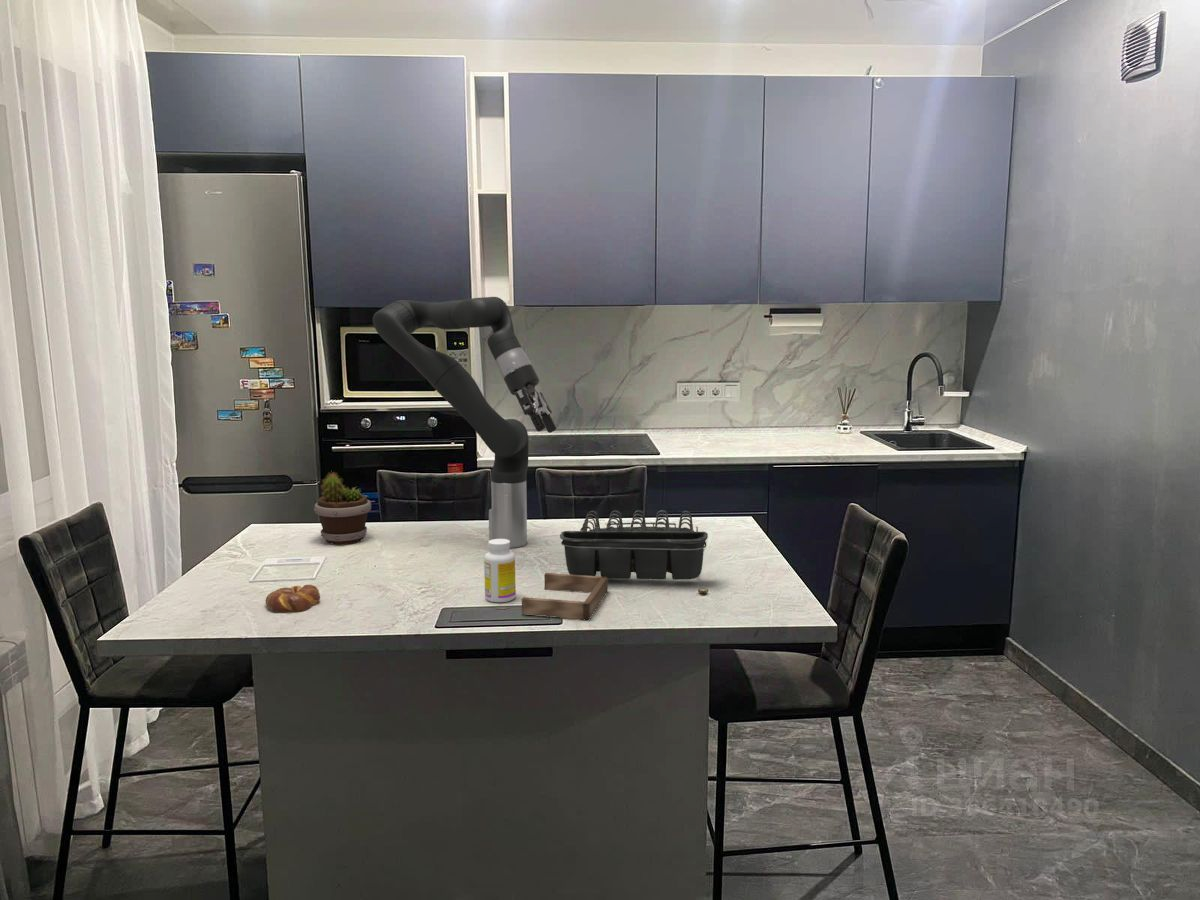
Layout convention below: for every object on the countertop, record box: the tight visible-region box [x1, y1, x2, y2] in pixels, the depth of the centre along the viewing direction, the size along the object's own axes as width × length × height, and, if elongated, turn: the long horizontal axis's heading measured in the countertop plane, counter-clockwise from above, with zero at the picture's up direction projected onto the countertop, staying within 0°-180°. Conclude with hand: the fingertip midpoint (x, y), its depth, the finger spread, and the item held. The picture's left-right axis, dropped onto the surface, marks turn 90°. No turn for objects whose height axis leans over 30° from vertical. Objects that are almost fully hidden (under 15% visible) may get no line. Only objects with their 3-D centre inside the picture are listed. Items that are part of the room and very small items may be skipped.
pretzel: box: [265, 584, 321, 613], centre depth 190 cm, size 12×11×4 cm
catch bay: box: [521, 572, 609, 621], centre depth 191 cm, size 14×18×4 cm
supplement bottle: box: [483, 539, 517, 603], centre depth 193 cm, size 7×7×13 cm
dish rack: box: [559, 509, 709, 581], centre depth 222 cm, size 34×44×12 cm
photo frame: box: [248, 555, 327, 584], centre depth 214 cm, size 15×1×18 cm
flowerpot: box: [313, 470, 372, 546], centre depth 239 cm, size 14×15×20 cm
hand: (547, 430), depth 211 cm, fingers open, 8 cm apart
